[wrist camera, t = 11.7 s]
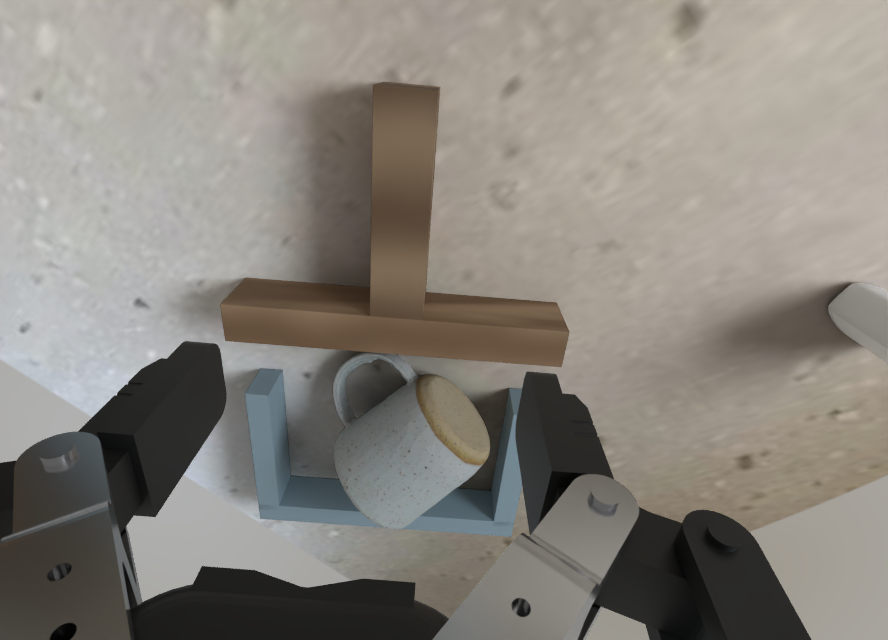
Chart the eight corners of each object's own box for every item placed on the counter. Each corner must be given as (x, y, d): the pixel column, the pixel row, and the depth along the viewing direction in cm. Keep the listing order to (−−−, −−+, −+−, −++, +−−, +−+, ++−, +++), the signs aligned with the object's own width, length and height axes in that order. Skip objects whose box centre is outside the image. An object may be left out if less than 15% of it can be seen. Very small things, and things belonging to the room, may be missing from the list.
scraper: (223, 67, 26) (187, 67, 23) (597, 101, 27) (620, 106, 23) (249, 310, 33) (225, 340, 29) (549, 334, 33) (561, 367, 30)
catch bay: (261, 368, 35) (245, 393, 32) (530, 389, 35) (536, 416, 33) (273, 488, 40) (260, 518, 37) (507, 505, 40) (510, 536, 38)
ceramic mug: (495, 411, 36) (503, 491, 29) (416, 468, 39) (406, 554, 32) (390, 315, 33) (372, 380, 26) (311, 385, 36) (276, 460, 29)
